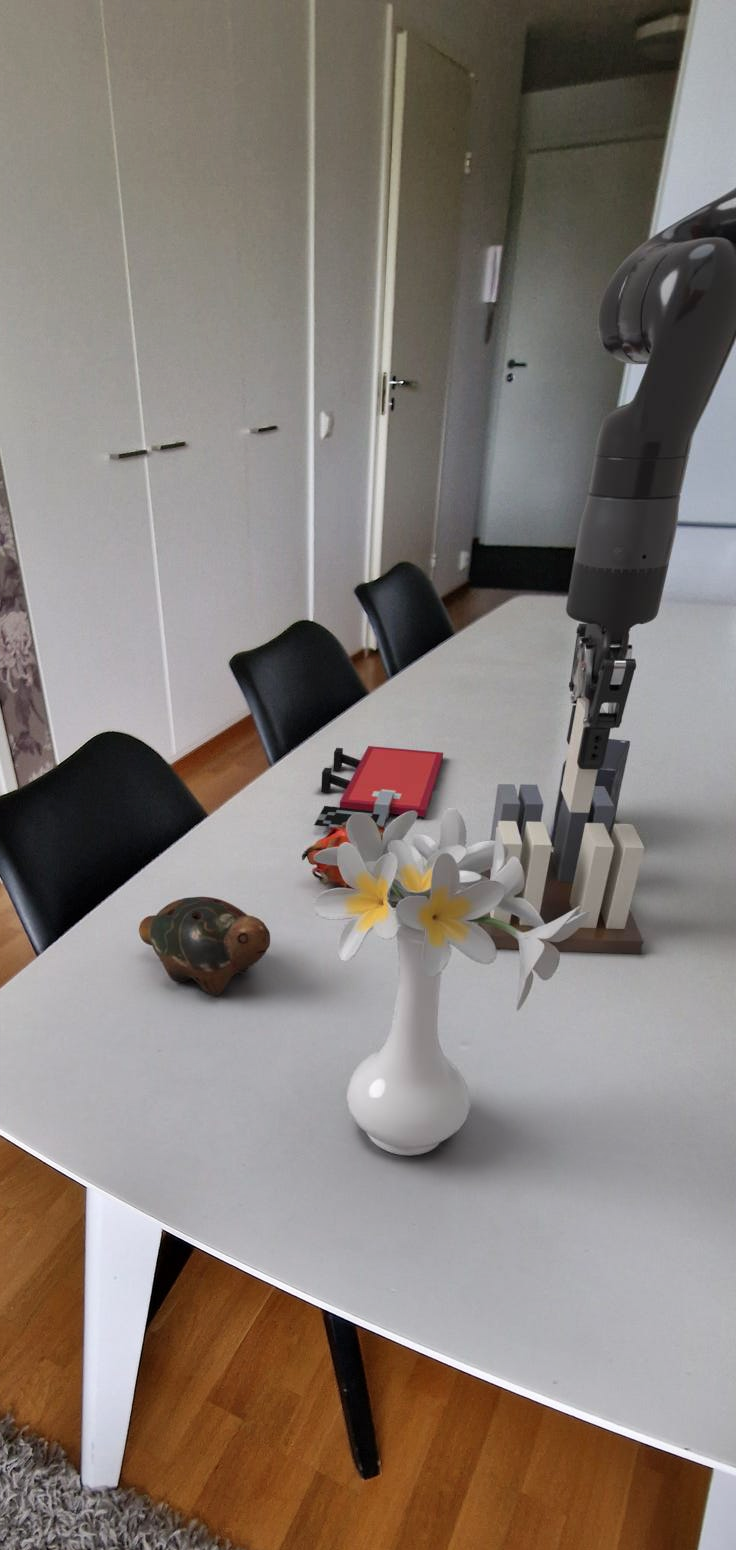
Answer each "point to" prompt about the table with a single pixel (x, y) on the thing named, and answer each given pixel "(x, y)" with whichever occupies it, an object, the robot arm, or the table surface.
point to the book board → (559, 905)
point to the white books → (579, 870)
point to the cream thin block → (578, 780)
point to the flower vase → (426, 960)
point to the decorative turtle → (205, 940)
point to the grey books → (569, 824)
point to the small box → (602, 778)
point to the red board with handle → (381, 784)
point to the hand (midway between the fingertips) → (583, 755)
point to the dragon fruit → (331, 840)
